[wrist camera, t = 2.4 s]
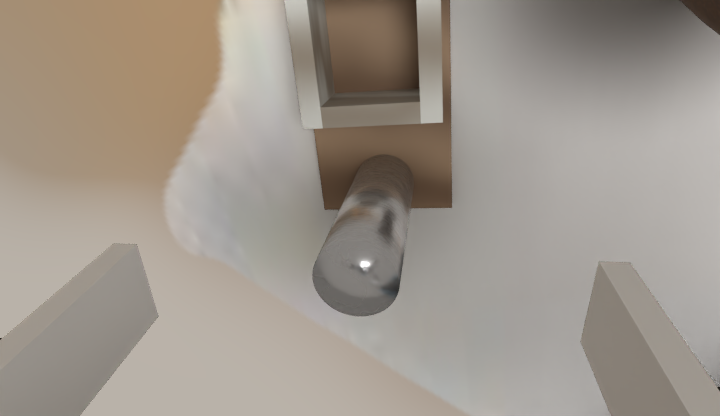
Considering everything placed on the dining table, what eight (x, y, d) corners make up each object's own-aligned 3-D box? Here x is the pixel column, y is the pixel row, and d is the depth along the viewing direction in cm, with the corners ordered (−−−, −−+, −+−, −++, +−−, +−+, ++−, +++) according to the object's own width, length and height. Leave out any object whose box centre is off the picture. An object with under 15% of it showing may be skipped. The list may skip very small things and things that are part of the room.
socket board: (451, 200, 33) (453, 235, 28) (328, 202, 34) (310, 235, 30) (449, -38, 26) (450, -44, 22) (299, -21, 28) (271, -24, 23)
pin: (415, 208, 32) (401, 317, 21) (358, 209, 33) (318, 315, 22) (412, 153, 30) (396, 241, 20) (353, 155, 31) (307, 242, 20)
